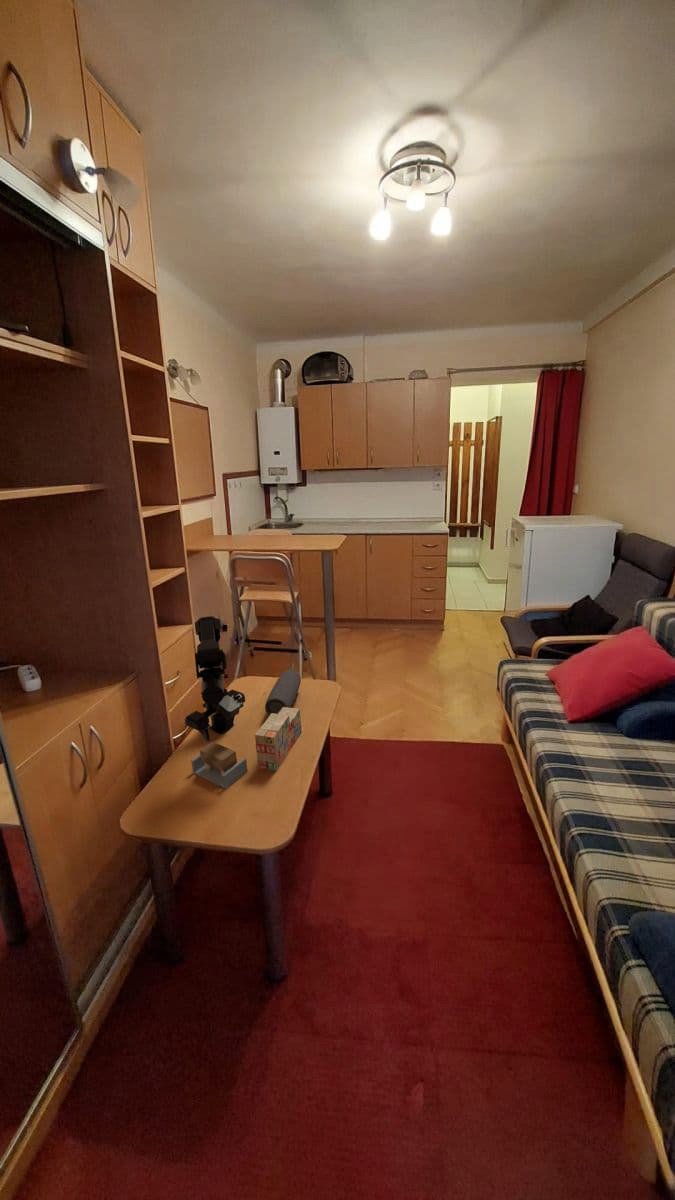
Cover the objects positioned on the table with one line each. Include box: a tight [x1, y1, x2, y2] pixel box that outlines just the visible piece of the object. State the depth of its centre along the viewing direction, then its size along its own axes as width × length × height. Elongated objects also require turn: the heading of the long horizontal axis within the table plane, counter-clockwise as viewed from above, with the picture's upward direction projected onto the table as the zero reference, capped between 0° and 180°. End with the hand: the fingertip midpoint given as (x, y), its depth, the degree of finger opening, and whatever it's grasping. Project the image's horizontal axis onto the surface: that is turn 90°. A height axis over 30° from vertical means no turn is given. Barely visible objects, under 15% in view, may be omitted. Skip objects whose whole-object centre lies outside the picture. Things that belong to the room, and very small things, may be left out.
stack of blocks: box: [254, 707, 302, 772], centre depth 149 cm, size 21×6×12 cm, turn 163°
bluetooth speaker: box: [264, 669, 302, 717], centre depth 176 cm, size 23×9×10 cm, turn 172°
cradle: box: [190, 754, 249, 790], centre depth 140 cm, size 14×9×4 cm, turn 57°
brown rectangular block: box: [199, 741, 238, 772], centre depth 139 cm, size 10×5×4 cm, turn 57°
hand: (219, 733), depth 140 cm, fingers open, 9 cm apart
